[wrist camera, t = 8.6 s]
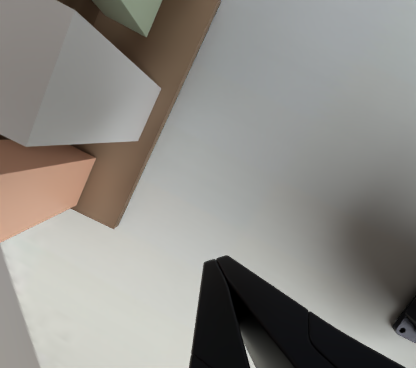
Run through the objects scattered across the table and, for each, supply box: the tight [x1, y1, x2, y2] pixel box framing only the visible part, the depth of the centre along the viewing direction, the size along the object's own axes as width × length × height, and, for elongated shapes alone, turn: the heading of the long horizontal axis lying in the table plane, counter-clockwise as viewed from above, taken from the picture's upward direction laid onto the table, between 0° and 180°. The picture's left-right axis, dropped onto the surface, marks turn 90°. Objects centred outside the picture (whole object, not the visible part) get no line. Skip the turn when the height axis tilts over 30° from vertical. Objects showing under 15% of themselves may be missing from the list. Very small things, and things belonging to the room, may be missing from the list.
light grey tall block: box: [0, 0, 161, 147], centre depth 12 cm, size 3×4×11 cm
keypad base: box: [0, 0, 221, 229], centre depth 16 cm, size 8×18×6 cm, turn 153°
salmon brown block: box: [0, 140, 96, 243], centre depth 13 cm, size 3×4×11 cm
